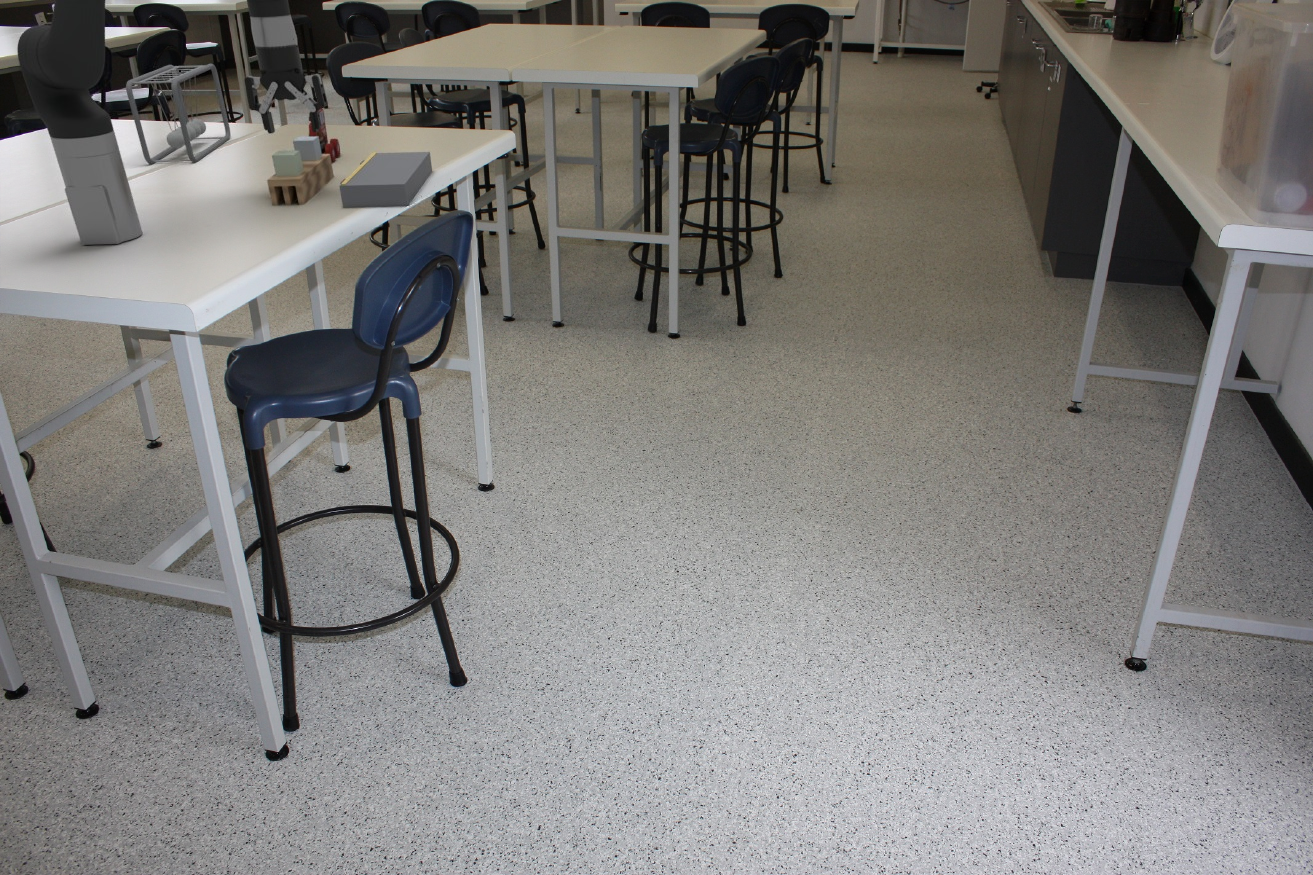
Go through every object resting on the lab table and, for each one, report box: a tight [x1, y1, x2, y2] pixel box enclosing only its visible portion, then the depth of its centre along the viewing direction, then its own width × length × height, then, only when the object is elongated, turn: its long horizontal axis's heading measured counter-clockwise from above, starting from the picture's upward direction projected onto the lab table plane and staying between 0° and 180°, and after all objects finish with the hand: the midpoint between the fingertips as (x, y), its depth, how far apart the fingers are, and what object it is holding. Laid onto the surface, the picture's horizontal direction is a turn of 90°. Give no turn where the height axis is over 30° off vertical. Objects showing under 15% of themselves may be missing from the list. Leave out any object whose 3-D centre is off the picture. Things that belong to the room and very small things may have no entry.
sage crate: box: [271, 149, 304, 177], centre depth 179 cm, size 4×4×4 cm
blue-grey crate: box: [292, 136, 322, 161], centre depth 191 cm, size 4×4×4 cm
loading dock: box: [339, 151, 433, 208], centre depth 188 cm, size 28×13×4 cm, turn 2°
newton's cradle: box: [125, 63, 231, 165], centre depth 219 cm, size 30×10×18 cm, turn 6°
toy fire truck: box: [308, 108, 341, 163], centre depth 210 cm, size 7×12×10 cm, turn 5°
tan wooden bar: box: [266, 154, 335, 206], centre depth 187 cm, size 22×6×5 cm, turn 2°
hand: (294, 132), depth 183 cm, fingers open, 8 cm apart
